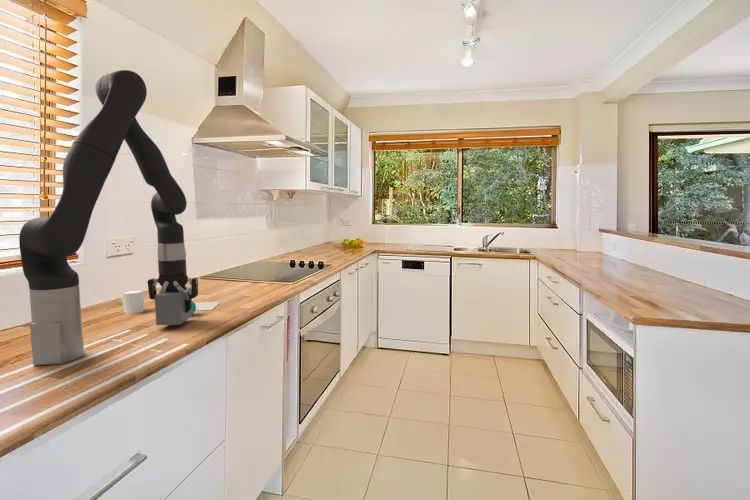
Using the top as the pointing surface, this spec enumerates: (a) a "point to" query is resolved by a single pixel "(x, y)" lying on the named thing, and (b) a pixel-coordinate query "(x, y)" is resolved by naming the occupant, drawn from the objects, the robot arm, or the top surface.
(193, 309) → the ball
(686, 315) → the top surface
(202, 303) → the white square plate
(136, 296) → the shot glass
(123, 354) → the top surface
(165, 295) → the grey rectangular block
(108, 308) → the top surface
